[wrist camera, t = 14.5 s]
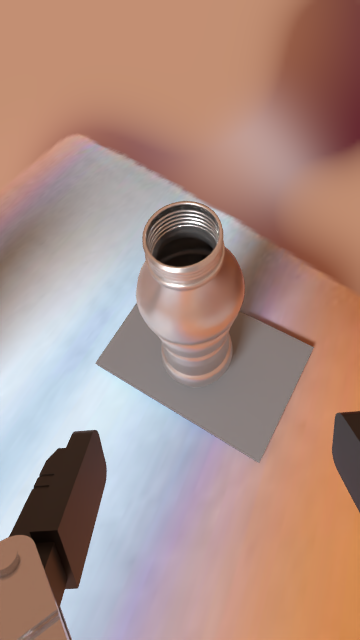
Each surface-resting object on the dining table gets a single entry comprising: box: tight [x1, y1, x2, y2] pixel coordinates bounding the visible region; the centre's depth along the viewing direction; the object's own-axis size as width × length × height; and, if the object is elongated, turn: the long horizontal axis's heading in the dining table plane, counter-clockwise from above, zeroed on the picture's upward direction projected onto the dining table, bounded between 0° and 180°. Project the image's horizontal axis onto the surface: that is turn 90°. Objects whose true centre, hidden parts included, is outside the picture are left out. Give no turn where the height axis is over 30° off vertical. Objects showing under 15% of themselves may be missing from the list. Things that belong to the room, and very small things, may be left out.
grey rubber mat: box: [96, 303, 314, 462], centre depth 34 cm, size 18×12×1 cm, turn 59°
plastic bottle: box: [136, 201, 245, 387], centre depth 24 cm, size 6×7×20 cm
